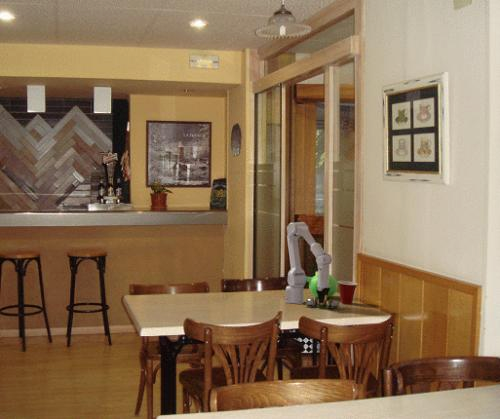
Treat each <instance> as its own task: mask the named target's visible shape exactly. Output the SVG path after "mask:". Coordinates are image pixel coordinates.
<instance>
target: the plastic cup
mask: <svg viewBox="0 0 500 419" xmlns="http://www.w3.org/2000/svg"><path fill="white" fill-rule="evenodd" d="M337 283H338V290H339V297H340V303H341V304H342V305H352V304H353V300H354V297H355V291H356V287H357V286H358V283H357V282H354V281H348V280H338V281H337ZM351 303H352V304H351Z"/></svg>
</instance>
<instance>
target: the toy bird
mask: <svg viewBox="0 0 500 419" xmlns="http://www.w3.org/2000/svg"><path fill="white" fill-rule="evenodd" d="M306 278H307V282H308V283H309V284H308V289H309V292H310V293H311V294H312V296H315V298H319V297H318V294H317V292H316V290H317V289H318V270H317V271H315V275H314V276H306ZM329 285H331V287H327V288H330V290H329V292H328V295H327V298H330V297H332V296H334V295H335V294H336V293H337V292H338V290H339V283H338V281H337V279H336V277H335V276H333V275H332V274H329Z"/></svg>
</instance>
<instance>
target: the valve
mask: <svg viewBox="0 0 500 419" xmlns="http://www.w3.org/2000/svg"><path fill="white" fill-rule="evenodd" d="M317 306H319V307H328V297H327V295H325V300H324V303H319V299H318V303H317Z"/></svg>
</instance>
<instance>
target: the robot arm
mask: <svg viewBox="0 0 500 419" xmlns="http://www.w3.org/2000/svg"><path fill="white" fill-rule="evenodd" d="M286 232H287V236H286V238H287V247H288V255H289V264H290V270H288V273H287V283H288V285H287V286H286V287H285V301H284V302H285V303H286V304H297V305H298V304H300V305H302V304H304V303H306V300H304V287H305V285H306V284H307V282H308V281H307V278H306V277H307V276H306V273H305V272H306V271H305V270H304V269H303V268H302V265H301V259H300V258H301V257H300V251H299V250H300V249H299V241H298V240H299V238H300V237H302V238H303V239H304V240H305V241H306V243H307V244H308V245H309V246H310V251H311V253H312V255H313V256H314V257H315V262H316V264H317V271H318V289H317V290H316V292H317V294H318V297H317V298H318V300H319V303H324V300H325V295H328V292H329V290H330V288H327V287H331V285H329V275H330V265H331V264H332V261H333V258H332V256H331V254H330V253H328V252H326V251H325V250H324V248H323V247H322V244H320V243H319V242H316V240H315V239H314V237H313V236H312V234H311V232H310V230H309V226H308V225H307V223H306V222H304V221H302V222H301V221H300V222H299V221H298V222H290V223H289V224H288V225H287V226H286Z"/></svg>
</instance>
